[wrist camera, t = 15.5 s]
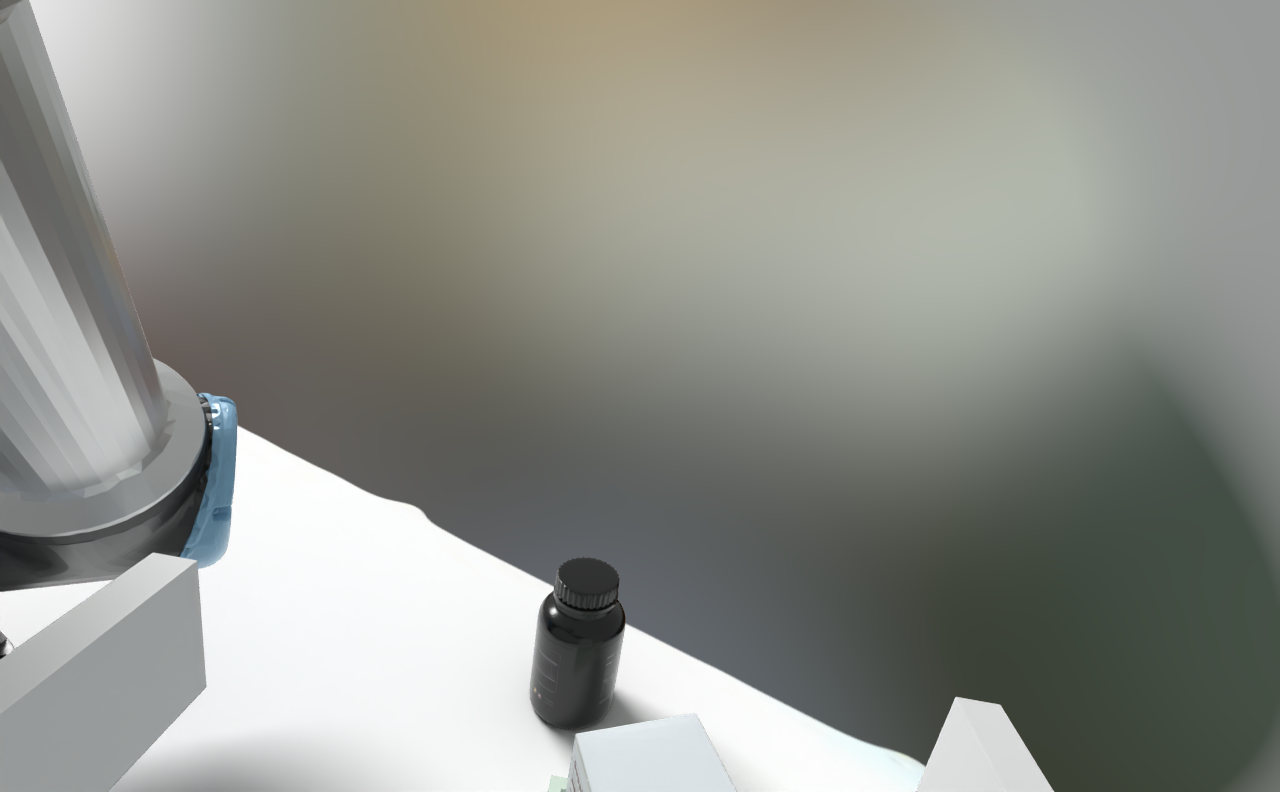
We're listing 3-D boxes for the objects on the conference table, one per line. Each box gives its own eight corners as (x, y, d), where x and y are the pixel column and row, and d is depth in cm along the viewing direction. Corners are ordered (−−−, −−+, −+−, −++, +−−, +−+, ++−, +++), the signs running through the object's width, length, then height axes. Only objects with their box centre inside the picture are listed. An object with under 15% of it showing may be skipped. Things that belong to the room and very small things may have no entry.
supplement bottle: (585, 657, 56) (605, 542, 52) (626, 714, 51) (652, 590, 47) (513, 682, 52) (529, 558, 48) (550, 746, 47) (571, 614, 43)
